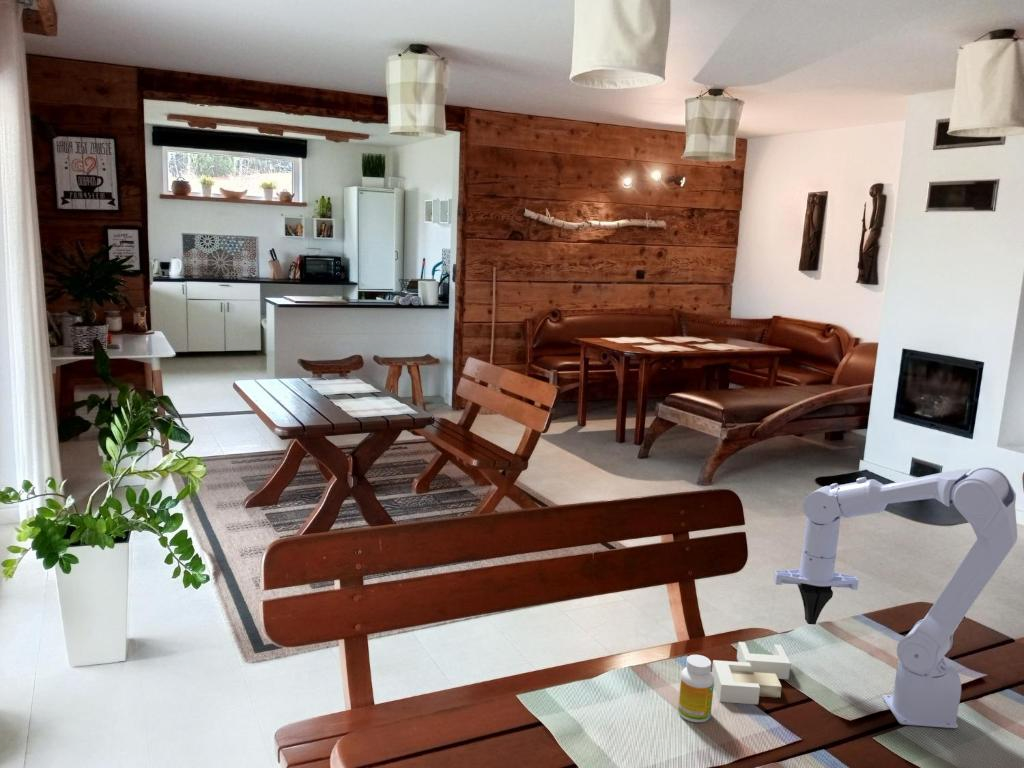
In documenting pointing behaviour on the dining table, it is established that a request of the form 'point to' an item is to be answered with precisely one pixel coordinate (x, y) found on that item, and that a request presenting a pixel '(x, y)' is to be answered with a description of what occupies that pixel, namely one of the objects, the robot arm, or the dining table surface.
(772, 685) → the beige rectangular block
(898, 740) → the dining table surface
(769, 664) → the white u-shaped block
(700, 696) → the supplement bottle
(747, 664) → the end cap
